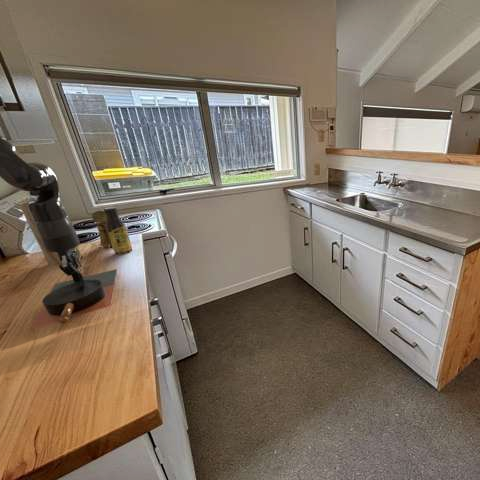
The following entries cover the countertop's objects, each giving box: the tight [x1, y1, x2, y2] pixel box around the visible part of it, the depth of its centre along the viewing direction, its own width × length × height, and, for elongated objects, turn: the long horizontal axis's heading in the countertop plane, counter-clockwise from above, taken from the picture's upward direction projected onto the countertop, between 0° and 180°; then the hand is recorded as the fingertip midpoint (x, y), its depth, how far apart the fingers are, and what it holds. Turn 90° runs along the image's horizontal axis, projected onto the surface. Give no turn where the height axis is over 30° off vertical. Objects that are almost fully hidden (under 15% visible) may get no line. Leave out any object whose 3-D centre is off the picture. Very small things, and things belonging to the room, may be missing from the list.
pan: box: [42, 280, 106, 325], centre depth 72 cm, size 13×21×4 cm, turn 33°
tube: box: [18, 200, 83, 267], centre depth 100 cm, size 10×10×25 cm
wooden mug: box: [91, 210, 112, 248], centre depth 115 cm, size 9×14×18 cm, turn 35°
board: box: [28, 268, 118, 330], centre depth 80 cm, size 17×27×1 cm, turn 33°
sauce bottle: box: [103, 206, 133, 256], centre depth 106 cm, size 7×6×20 cm
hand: (80, 283), depth 83 cm, fingers closed
